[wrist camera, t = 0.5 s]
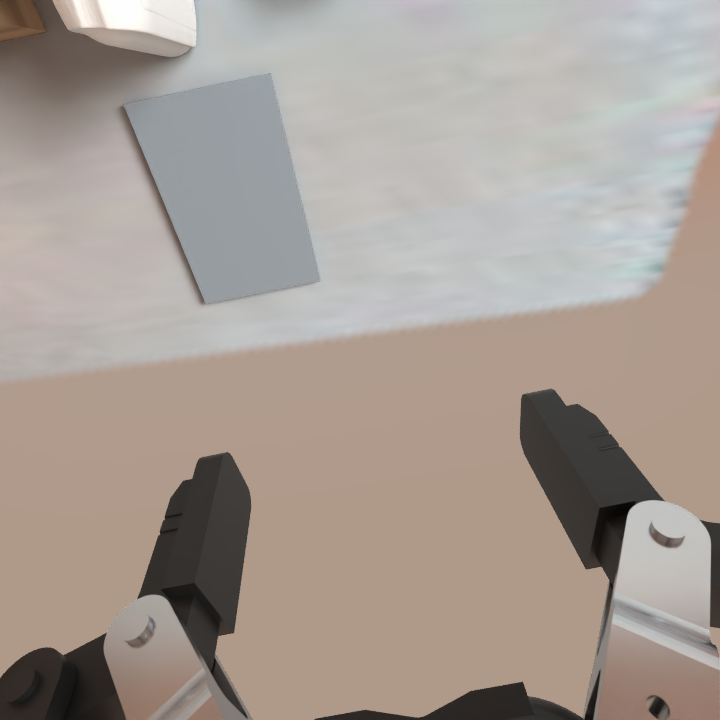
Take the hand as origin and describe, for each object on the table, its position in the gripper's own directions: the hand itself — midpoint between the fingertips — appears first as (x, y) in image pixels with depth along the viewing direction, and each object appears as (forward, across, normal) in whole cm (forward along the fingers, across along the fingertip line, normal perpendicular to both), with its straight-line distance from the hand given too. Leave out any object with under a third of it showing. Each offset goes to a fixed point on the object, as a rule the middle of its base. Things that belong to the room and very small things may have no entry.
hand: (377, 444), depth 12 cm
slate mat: (+27, +8, -1) cm, 28 cm away
